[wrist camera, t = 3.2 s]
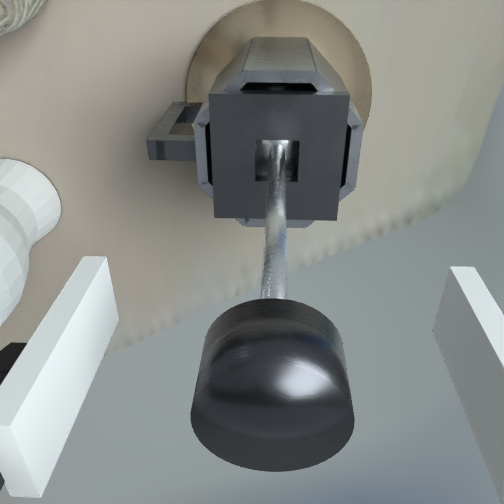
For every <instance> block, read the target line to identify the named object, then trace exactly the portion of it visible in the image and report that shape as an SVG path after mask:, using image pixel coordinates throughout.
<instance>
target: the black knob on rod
mask: <svg viewBox="0 0 504 504" xmlns="http://www.w3.org/2000/svg"><path fill="white" fill-rule="evenodd" d="M298 154H299V141H288V140H256V176H268V182H267V199H266V216H265V233H264V250H263V267H262V284H261V299H257V300H252V301H248V302H244V303H242V304H239V305H236V306H234V307H233V308H230V309H229V310H227V311H226V312H224V313H223V314H221V316H219V317H218V318H217V319H216V320H215V321H214V322H213V324H212V325H211V327H210V328H209V330H208V332H207V334H206V337H205V342H204V347H203V353H202V357H201V362H200V368H199V373H198V378H197V383H196V388H195V394H194V398H193V403H192V408H191V424H192V428H193V430H194V433H195V434H196V436H197V437H198V439H199V441H200V442H201V443H202V444H203V445H204V446H205V447H206V448H207V449H208V450H209V451H211V452H212V453H213V454H215V455H216V456H218V457H220V458H222V459H223V460H225V461H227V462H230V463H232V464H235V465H238V466H240V467H245V468H248V469H253V470H259V471H270V472H281V471H293V470H299V469H303V468H308V467H311V466H314V465H317V464H319V463H321V462H324V461H325V460H327V459H329V458H331V457H332V456H334V455H335V454H336V453H338V452H339V451H340V450H341V449H342V448H343V447H344V446H345V445H346V443H347V442H348V441H349V438H350V437H351V435H352V432H353V429H354V413H353V406H352V400H351V393H350V387H349V381H348V374H347V368H346V361H345V355H344V349H343V342H342V339H341V336H340V334H339V332H338V330H337V328H336V327H335V326H334V324H333V323H332V322H331V321H330V320H329V319H328V318H327V317H326V316H325V315H323V314H322V313H321V312H319V311H317V310H316V309H314V308H312V307H310V306H308V305H305V304H303V303H299V302H296V301H292V300H288V292H287V289H288V288H287V236H286V183H285V176H297V172H298Z"/></svg>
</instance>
